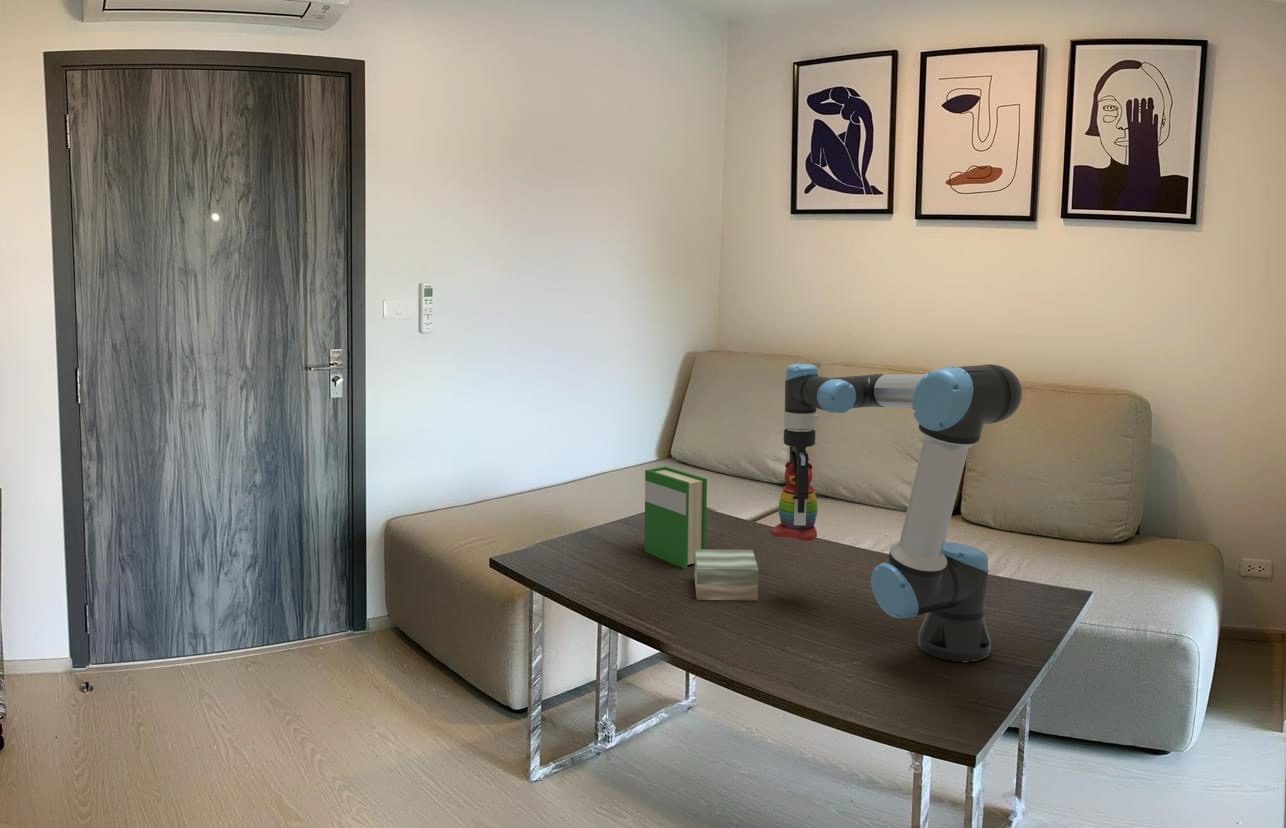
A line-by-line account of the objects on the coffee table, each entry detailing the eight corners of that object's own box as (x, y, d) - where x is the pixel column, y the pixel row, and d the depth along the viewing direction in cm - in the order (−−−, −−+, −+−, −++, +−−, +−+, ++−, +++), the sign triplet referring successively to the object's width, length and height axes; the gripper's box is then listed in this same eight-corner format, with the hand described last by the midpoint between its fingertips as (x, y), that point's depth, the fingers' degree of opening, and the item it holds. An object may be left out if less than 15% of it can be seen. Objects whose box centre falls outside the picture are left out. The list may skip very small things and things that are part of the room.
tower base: (757, 600, 233) (758, 569, 232) (696, 599, 233) (697, 568, 232) (751, 579, 248) (752, 549, 247) (694, 578, 248) (695, 549, 247)
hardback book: (705, 563, 260) (707, 478, 256) (684, 569, 255) (686, 482, 251) (664, 547, 274) (665, 466, 269) (644, 552, 269) (645, 470, 265)
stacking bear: (768, 536, 229) (770, 464, 226) (782, 525, 238) (784, 456, 235) (811, 542, 224) (814, 469, 221) (824, 531, 233) (826, 461, 230)
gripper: (823, 437, 216) (819, 532, 220) (808, 420, 238) (805, 506, 241) (790, 437, 216) (787, 532, 220) (778, 420, 238) (775, 506, 242)
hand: (796, 518), depth 231 cm, fingers closed on stacking bear, 9 cm apart
